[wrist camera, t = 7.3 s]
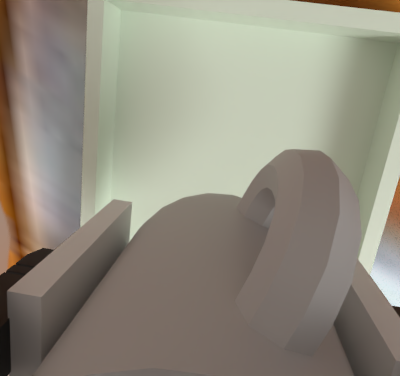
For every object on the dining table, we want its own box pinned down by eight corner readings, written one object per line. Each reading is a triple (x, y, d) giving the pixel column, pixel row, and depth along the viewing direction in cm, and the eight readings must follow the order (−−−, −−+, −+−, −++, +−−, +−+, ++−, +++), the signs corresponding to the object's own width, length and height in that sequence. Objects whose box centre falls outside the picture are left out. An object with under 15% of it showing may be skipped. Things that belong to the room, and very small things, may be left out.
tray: (111, -6, 19) (88, -23, 16) (413, 29, 18) (447, 17, 15) (95, 308, 25) (76, 336, 22) (324, 350, 23) (336, 386, 21)
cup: (104, 304, 15) (-71, 581, 7) (202, 86, 12) (118, 75, 4) (253, 375, 15) (272, 738, 7) (385, 176, 12) (713, 366, 4)
